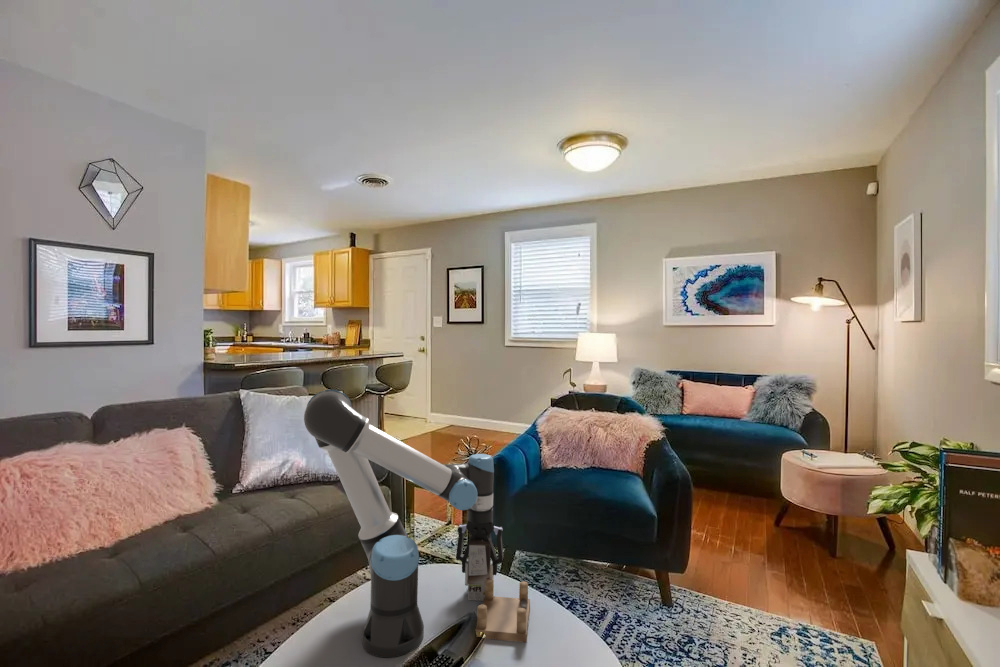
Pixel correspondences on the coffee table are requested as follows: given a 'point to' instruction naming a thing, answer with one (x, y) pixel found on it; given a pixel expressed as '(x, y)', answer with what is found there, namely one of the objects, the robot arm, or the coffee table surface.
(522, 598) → the rounded tan peg
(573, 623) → the coffee table surface
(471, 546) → the coffee box
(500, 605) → the wooden peg stand
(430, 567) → the coffee table surface
